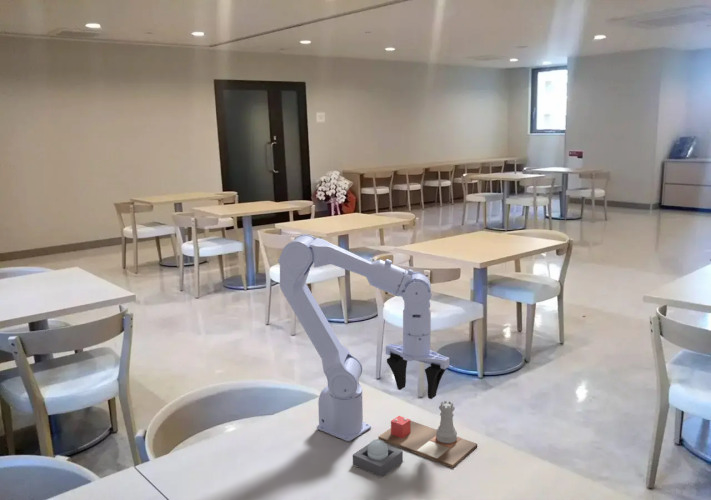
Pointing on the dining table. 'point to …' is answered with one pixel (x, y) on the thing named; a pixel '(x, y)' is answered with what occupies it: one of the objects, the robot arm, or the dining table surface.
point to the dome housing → (375, 466)
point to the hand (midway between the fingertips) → (416, 392)
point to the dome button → (378, 450)
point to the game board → (430, 445)
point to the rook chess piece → (446, 424)
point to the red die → (400, 426)
